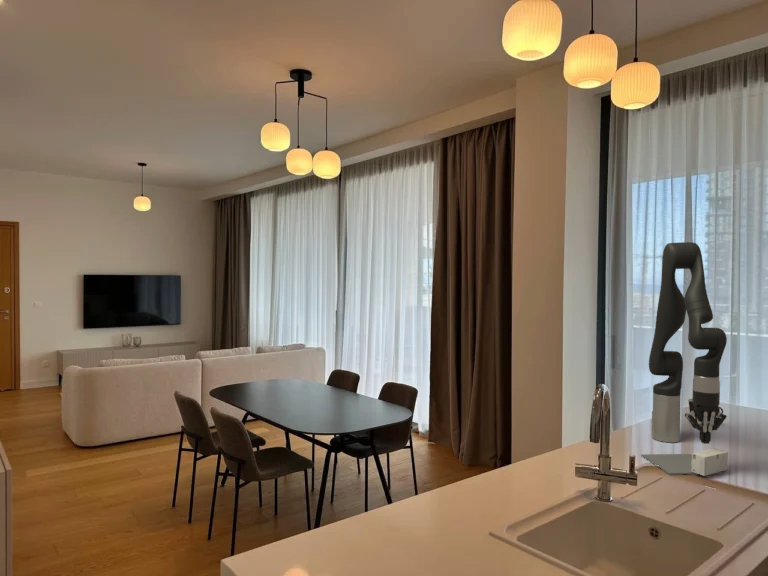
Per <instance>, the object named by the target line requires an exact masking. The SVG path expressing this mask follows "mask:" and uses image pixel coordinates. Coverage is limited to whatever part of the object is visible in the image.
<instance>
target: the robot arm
mask: <svg viewBox="0 0 768 576" xmlns="http://www.w3.org/2000/svg"><path fill="white" fill-rule="evenodd" d="M685 269H686V270H689V271H690V274H691V279H690V282H689V285H688V287H687V289H686V291H685V294H684V295H683V293H682V291H681V290H680V288H679V286H678V284H677V282H676V270H685ZM704 269H705V268H704V261H703V255H702V250H701V248H700V246H699V245H698V244H697V243H696V242H691V241H688V242H685V241H684V242H669V243H667V244H665V247H664V249H663V251H662V259H661V279H660V290H659V296H658V301H657V302H658V303H657V308H656V317H655V319H656V320H655V325H654V326H655V328H654V334H653V339H652V344H651V347H650V348H651V349H650V352H649V357H648V370H649V372H650V374H651V375H654V376H660V377H661V376H662V377H663V376H664V377H665V376H668V377H667V379H665V380H663V381H661V382H658V383H655V384H654V385H653V386H652V411H651V438H652V439H654V440H656V441H659V442H664V443H678V442H680V438H681V435H680V432H681V399H682V398H681V396H682V395H681V393H682V386H683V384H682V383H683V382H682V381H683V370H684V359H683V356H682V354H681V353H680V352H679V351H676V350H675V351H674V350H665V348H666V345H667V344H668V342H669V340H670V339H671V338H672V337H673V336H674V335H675V334H676V333H677V332H678V331H679V330H680V329H681V328H682V327H683V325H684V323H685V321H686V315H687V317H688V335H687V340H688V343H689V345H690V346H691V347H692V348H693V349H695V350H702V351H703V350H704V351H705V350H706V351H707V350H708V351H707V353H706V354H705V355H700V356H696V357H695V358H694V361H693V364H694V365H693V377H692V378H693V379H692V398H691V399H692V402H693V407H692V411H691V412H690V411H689V412H688V413H687V412H686V413H684V417H685V418H686V419H687V421H688V422H689V424H690V425H691V427H692V428H693V429H695V430H697V431H699V438H698V439H699V441H700V442H701V443H702V444H709V445H710V442H711V440H712V438H711V437H712V432H713V431H717V430H718V429H719V428H720V426H721V425H722V424H723V423H724V421H725V420H726V419H727V415H726V414H724V413H723V414H722V411H721V409H720V408H719V407H720V406H719V405H720V404H721V403H720V400H721V399H720V396H721V393H720V392H721V390H720V389H721V381H720V363H721V361H722V357H723V354H724V351H725V349H726V346H727V342H728V341H727V340H728V339H727V335H726V332H725V331H724V330H723V328H721V327H720V328H719V327H703V326H702V325H704V324H708V323H710V322H711V321H712V320H713V319H714V314H713V310H712V307H711V304H710V299H709V296H708V292H707V287H706V286H707V285H706V279H705V270H704ZM718 406H719V407H718ZM695 416H696V418H697V421H696V420H695ZM697 422H698V423H697Z"/></svg>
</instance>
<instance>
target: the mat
mask: <svg viewBox="0 0 768 576" xmlns="http://www.w3.org/2000/svg"><path fill="white" fill-rule="evenodd" d="M640 456H641V457H642V456H643V457H644V458H643V457H642V458H643V459H645V458H646V459H647V460H646V459H645V460H646V461H648V460H649V461H651V462H653V463H654V464H656V465H659V467H660V468H661V469H662V470H661V469H660V468H659V469H660V470H661V471H662V472H664V473H666V474H667V475H669V476H683V475H682V474H697V473H694V472H691V469H692V465H691V461H692V453H691V454H690V453H664V454H663V453H660V454H659V453H658V454H656V453H655V454H653V453H652V454H651V453H650V454H648V453H647V454H641V455H640ZM649 461H648V462H649ZM651 462H650V463H651ZM654 464H653V465H654ZM712 475H723V471H721V472H717V473H713V474H712Z"/></svg>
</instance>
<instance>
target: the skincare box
mask: <svg viewBox="0 0 768 576" xmlns="http://www.w3.org/2000/svg"><path fill="white" fill-rule="evenodd" d="M691 455H692V461H691V465H692V469H691V472H694V473H697V474H700V475H699V476H703V477H706V476H708V475H709V476H710V475H714V474H713V473H717V472H723V471H724V472H725V471H727V470H728V463H729V452H728V451H725V450H722V449H719V448H715V447H713V448H710V449H705V450H701V451H697V452H692V453H691Z"/></svg>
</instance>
